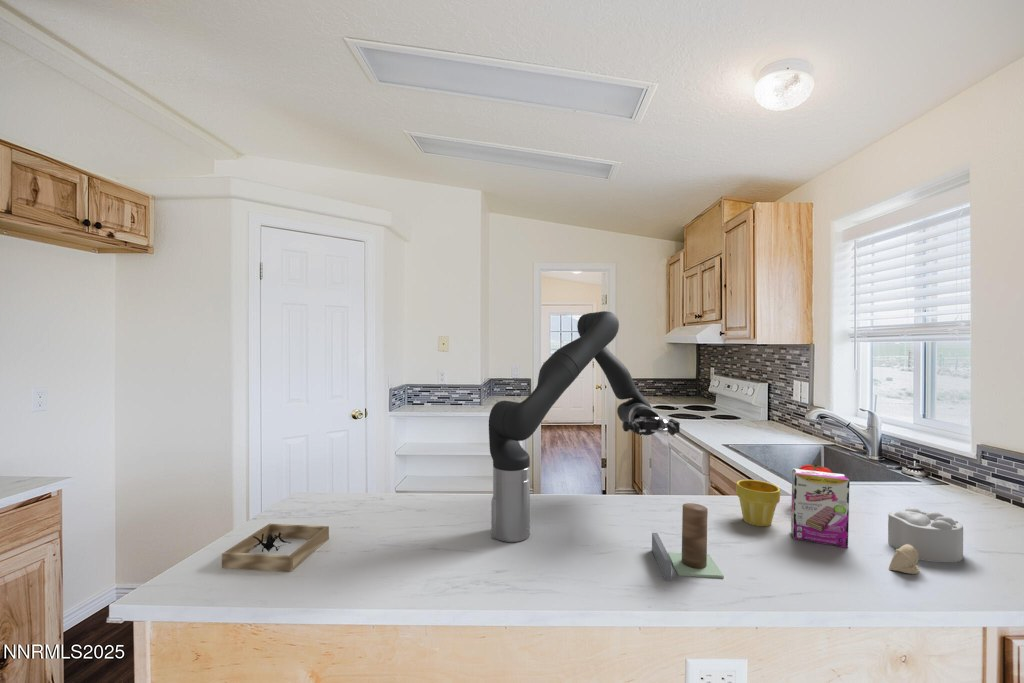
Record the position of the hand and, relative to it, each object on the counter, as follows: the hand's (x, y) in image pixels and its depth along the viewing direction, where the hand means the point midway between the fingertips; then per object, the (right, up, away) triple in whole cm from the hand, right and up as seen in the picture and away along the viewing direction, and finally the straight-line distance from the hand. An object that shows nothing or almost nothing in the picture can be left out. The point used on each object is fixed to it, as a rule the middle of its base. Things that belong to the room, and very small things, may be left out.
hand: (655, 430), depth 111 cm
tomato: (+51, -26, +16) cm, 59 cm away
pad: (+3, -26, -15) cm, 30 cm away
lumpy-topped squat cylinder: (+60, -26, -8) cm, 66 cm away
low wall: (-4, -26, -15) cm, 30 cm away
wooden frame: (-90, -26, -10) cm, 94 cm away
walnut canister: (+3, -25, -15) cm, 30 cm away
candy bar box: (+39, -26, -3) cm, 47 cm away
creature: (-92, -26, -8) cm, 96 cm away
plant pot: (+30, -26, +8) cm, 41 cm away
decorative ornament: (+47, -26, -17) cm, 57 cm away
